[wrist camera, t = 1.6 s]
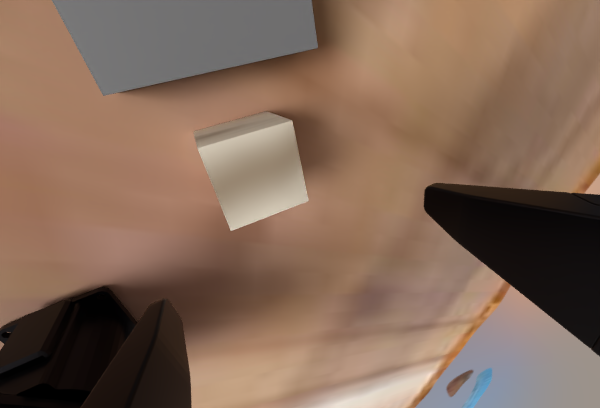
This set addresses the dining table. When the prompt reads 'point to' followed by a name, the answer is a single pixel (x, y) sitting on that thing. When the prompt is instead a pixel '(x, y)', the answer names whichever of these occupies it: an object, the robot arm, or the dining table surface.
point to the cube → (253, 166)
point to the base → (182, 36)
